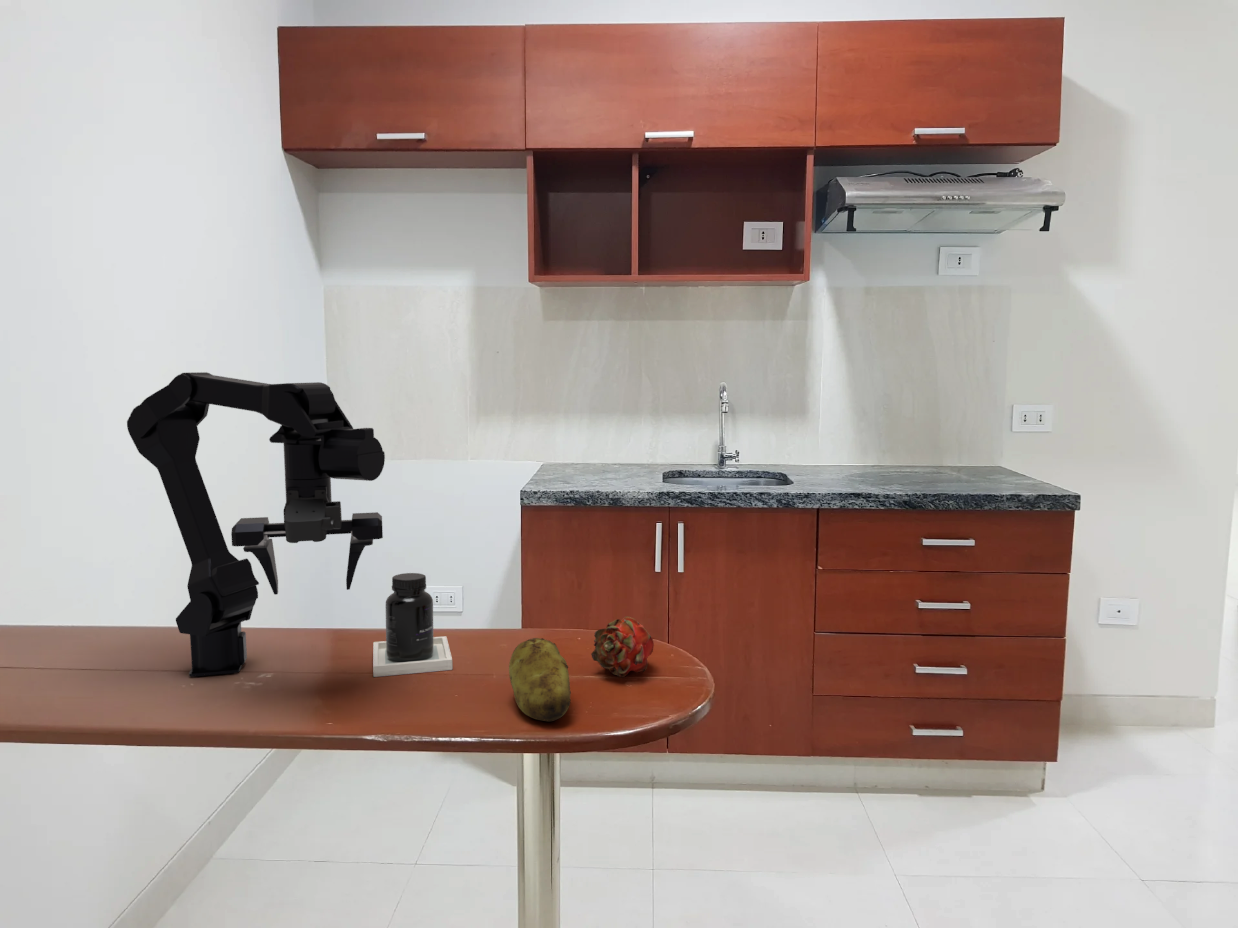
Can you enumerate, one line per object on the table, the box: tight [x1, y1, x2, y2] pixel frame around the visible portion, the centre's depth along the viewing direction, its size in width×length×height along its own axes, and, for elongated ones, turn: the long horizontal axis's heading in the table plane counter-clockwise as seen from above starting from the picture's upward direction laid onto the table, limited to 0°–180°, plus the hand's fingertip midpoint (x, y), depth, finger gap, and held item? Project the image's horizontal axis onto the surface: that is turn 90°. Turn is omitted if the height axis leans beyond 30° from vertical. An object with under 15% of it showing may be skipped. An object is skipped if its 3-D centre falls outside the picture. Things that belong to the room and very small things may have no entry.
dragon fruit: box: [590, 616, 655, 678], centre depth 121 cm, size 8×8×12 cm
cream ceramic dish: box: [372, 636, 453, 678], centre depth 125 cm, size 11×11×2 cm
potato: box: [508, 637, 572, 723], centre depth 108 cm, size 8×13×8 cm, turn 1°
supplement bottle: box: [385, 572, 434, 662], centre depth 125 cm, size 7×7×12 cm
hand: (312, 591), depth 115 cm, fingers open, 9 cm apart
